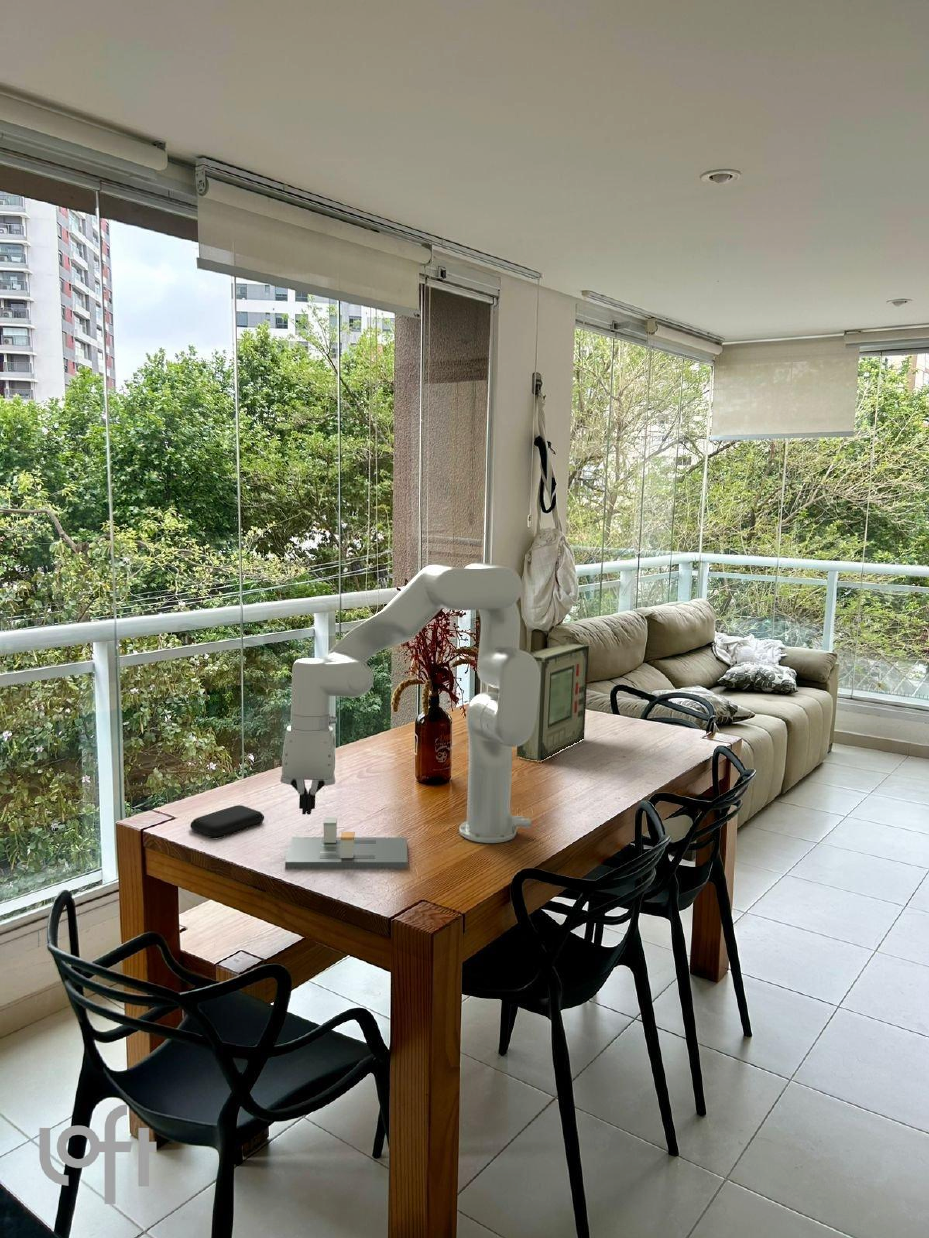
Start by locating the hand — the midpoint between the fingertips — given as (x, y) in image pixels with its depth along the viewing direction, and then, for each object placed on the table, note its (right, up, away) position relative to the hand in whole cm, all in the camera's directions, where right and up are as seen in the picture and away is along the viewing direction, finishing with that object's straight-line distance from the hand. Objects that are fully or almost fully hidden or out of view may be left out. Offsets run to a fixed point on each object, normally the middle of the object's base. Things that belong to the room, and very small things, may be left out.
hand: (307, 812), depth 179 cm
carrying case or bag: (-21, -8, +21) cm, 31 cm away
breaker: (+3, -8, +10) cm, 13 cm away
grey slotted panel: (+7, -10, +6) cm, 14 cm away
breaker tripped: (+8, -9, +2) cm, 12 cm away
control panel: (+57, -1, +91) cm, 107 cm away
